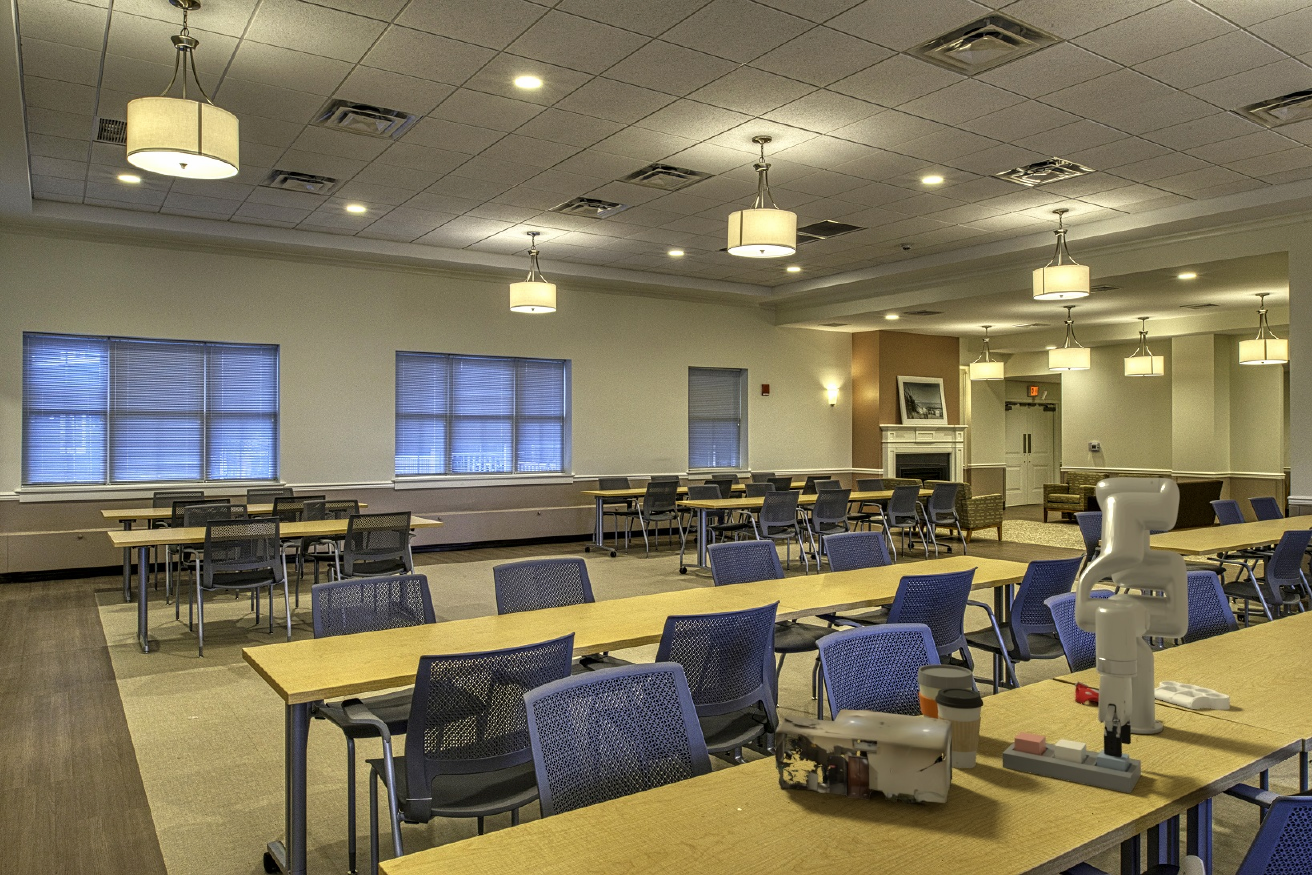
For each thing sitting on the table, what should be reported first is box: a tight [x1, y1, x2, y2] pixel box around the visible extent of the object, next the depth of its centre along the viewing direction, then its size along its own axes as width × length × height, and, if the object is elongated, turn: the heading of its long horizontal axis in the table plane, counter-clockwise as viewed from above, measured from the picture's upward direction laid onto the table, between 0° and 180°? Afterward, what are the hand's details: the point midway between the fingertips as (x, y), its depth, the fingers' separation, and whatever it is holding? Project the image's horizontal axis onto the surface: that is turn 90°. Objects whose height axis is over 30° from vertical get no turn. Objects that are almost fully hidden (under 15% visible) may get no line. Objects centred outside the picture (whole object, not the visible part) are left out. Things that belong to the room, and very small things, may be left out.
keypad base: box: [1002, 741, 1142, 794], centre depth 183 cm, size 12×24×3 cm, turn 52°
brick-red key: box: [1014, 731, 1047, 756], centre depth 188 cm, size 5×5×4 cm
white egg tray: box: [1155, 680, 1231, 711], centre depth 232 cm, size 3×18×15 cm
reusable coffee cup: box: [917, 664, 974, 719], centre depth 207 cm, size 13×13×15 cm
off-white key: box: [1055, 738, 1087, 764], centre depth 183 cm, size 5×5×4 cm
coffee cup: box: [935, 688, 984, 769], centre depth 188 cm, size 10×10×15 cm
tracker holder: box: [1074, 680, 1099, 705], centre depth 234 cm, size 12×4×10 cm
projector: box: [773, 708, 953, 806], centre depth 176 cm, size 18×33×13 cm, turn 68°
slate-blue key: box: [1097, 749, 1130, 772], centre depth 178 cm, size 5×5×4 cm
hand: (1117, 749), depth 182 cm, fingers open, 9 cm apart
